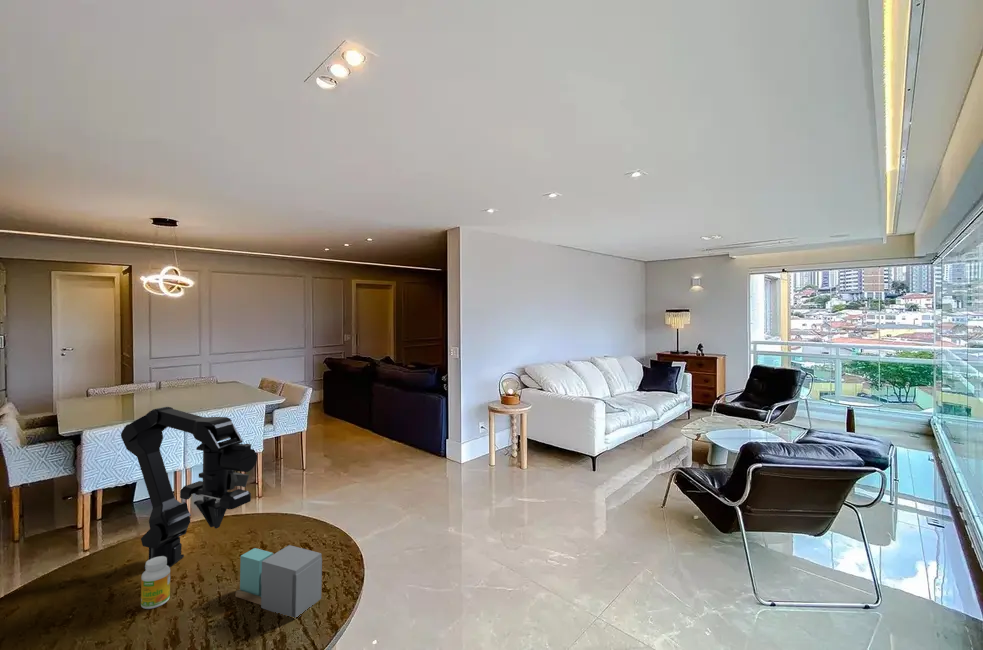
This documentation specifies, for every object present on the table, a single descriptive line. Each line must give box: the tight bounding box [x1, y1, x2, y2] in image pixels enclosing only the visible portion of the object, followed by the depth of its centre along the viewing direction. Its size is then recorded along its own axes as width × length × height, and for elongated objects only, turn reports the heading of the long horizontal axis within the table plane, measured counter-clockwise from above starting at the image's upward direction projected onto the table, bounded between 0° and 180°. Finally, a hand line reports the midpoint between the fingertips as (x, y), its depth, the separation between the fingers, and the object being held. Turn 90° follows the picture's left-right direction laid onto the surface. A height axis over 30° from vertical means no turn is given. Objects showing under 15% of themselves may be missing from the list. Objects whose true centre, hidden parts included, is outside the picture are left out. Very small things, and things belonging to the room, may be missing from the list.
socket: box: [260, 544, 323, 618], centre depth 103 cm, size 10×8×11 cm
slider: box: [239, 547, 274, 597], centre depth 107 cm, size 8×4×9 cm, turn 70°
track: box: [235, 589, 261, 606], centre depth 106 cm, size 9×6×1 cm
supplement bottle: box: [140, 556, 171, 610], centre depth 102 cm, size 5×5×10 cm
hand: (214, 527), depth 114 cm, fingers closed
